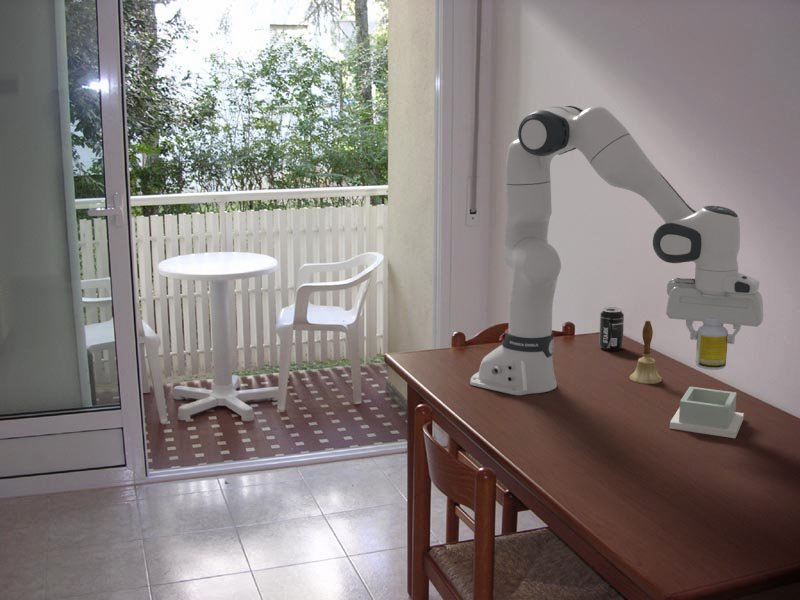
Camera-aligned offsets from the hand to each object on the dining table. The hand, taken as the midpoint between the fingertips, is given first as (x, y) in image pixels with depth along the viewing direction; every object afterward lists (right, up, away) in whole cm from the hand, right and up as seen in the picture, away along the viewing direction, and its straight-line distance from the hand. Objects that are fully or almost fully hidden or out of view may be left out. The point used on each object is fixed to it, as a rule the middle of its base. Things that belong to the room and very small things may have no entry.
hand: (712, 341), depth 196 cm
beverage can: (-7, -5, +66) cm, 66 cm away
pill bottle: (0, -6, +1) cm, 6 cm away
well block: (0, -19, +4) cm, 20 cm away
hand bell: (-5, -12, +37) cm, 39 cm away
